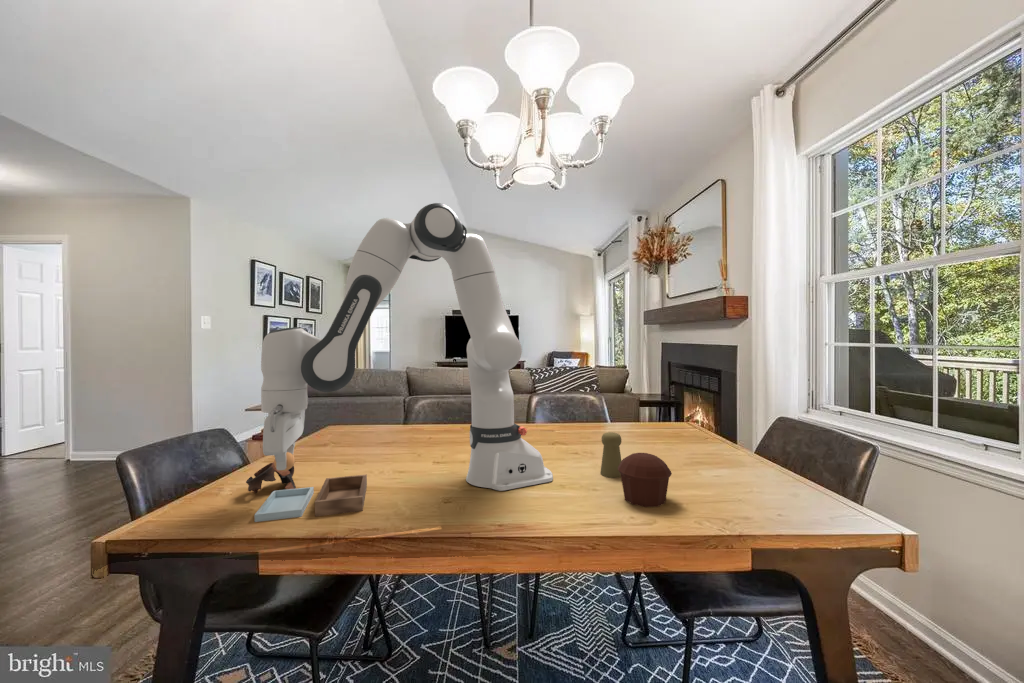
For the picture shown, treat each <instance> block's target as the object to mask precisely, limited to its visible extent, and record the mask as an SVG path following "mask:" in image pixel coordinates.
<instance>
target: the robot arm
mask: <svg viewBox="0 0 1024 683" xmlns="http://www.w3.org/2000/svg"><path fill="white" fill-rule="evenodd" d="M487 246H488V245H487V244H486V242H485V239H484V238H483V237H482V236H480V235H478V234H475V233H468V231H467V227H466V226H465V225H464V224H463V223H462V221H461V219H460V218H459V217H458V215H457V213H456V212H455V211H454V210H453V209H452V208H451V207H449V205H447V204H444V203H440V202H439V203H438V202H433V203H429V204H427V205H425V206H423V207H422V208H420V210H419V211H418V212H417V213H416V215H415V217H414V218H413V219H412V221H411V222H408V223H404V222H401V221H399V220H397V219H394V218H389V217H383V218H380V219H378V220H376V222H375V223H374V224H373V225H372V226H371V228H370V229H369V230H368V232H367V233H366V234H365V235H364V237H363V239H362V241H361V242H360V244H359V245H358V247H357V249H356V251H355V253H354V255H353V257H352V260H351V261H350V265H349V268H348V271H347V276H346V281H345V283H346V285H345V286H346V287H345V294H344V298H343V299H342V300H343V301H342V304H341V305H340V307H339V309H338V311H337V313H336V316H335V317H334V319H333V321H332V323H331V325H330V327H329V329H328V330H327V332H326V333H325V335H324V337H323V338H320V337H317V336H316V335H313V334H311V333H309V331H306V330H305V329H304V328H303V327H298V326H297V327H295V326H294V327H293V326H292V327H286V328H280V329H275V330H272V331H270V332H268V333H267V334H266V335H265V336H264V338H263V341H262V346H261V361H260V369H261V373H262V378H263V380H262V385H261V389H260V396H261V397H260V398H261V401H260V403H261V404H260V406H261V409H260V410H261V412H262V413H265V414H267V416H266V417H265V419H264V423H263V432H262V453H263V455H264V456H266V457H267V456H273V457H274V460H276V469H277V470H285V469H286V468H287V458H286V453H287V452H289V453H291V454H293V455H294V452H295V451H294V450H295V446H296V442H297V441H298V439H299V438H300V437H301V436H302V435H303V432H304V428H305V417H306V410H307V409H308V404H309V397H308V386H309V387H310V388H312V389H314V390H315V391H318V392H324V393H331V392H336V391H339V390H341V389H343V388H344V387H346V386H347V385H348V384H349V383H350V382H351V380H352V379H353V377H354V375H355V372H356V371H355V370H356V351H357V346H358V344H359V342H360V340H361V338H362V335H363V333H364V331H365V329H366V327H367V325H368V323H369V320H370V318H371V317H372V314H373V313H374V311H375V310H376V309H377V307H378V306H379V305H380V304H381V303H382V302H383V301H384V300H385V298H386V297H387V296H388V295H389V294H390V292H391V291H392V290H393V288H394V286H395V285H396V283H397V282H398V280H399V278H400V276H401V274H402V272H403V269H404V267H405V265H406V263H407V261H408V260H410V259H411V260H417V261H421V262H428V263H430V262H435V261H437V260H439V259H440V258H442V259H444V260H445V262H446V264H448V266H449V269H450V271H451V276H452V280H453V285H454V289H455V292H456V293H455V294H456V298H457V301H458V306H459V310H460V313H461V315H462V317H463V320H464V322H465V325H466V327H467V330H468V333H469V335H470V338H469V339H468V342H467V344H466V357H467V358H466V359H467V370H468V379H469V387H470V395H471V396H470V398H471V424H470V425H469V426H470V428H469V445H470V459H469V465H468V471H467V473H466V477H465V481H466V482H467V483H469V484H470V485H472V486H475V487H479V488H480V487H481V488H488V489H492V490H495V491H500V492H502V491H508V490H513V489H518V488H523V487H529V486H535V485H538V484H539V485H540V484H544V483H550V482H552V481H553V479H554V476H553V472H552V471H551V470H550V469H549V468H547V467H546V466H545V465H544V459H543V455H542V454H541V452H540V451H539V450H538V449H536V448H535V447H534V446H533V445H532V444H530V443H529V442H527V441H526V440H525V439H523V438H522V436H523V437H524V436H526V435H527V433H528V430H527V428H526V427H524V426H520V425H518V424H516V423H515V396H514V391H513V388H512V384H511V379H510V374H509V370H511V369H513V368H514V367H516V366H517V364H518V363H519V361H520V359H521V357H522V352H523V351H522V350H523V349H522V345H521V342H520V339H518V337H517V335H516V333H515V330H514V327H513V325H512V322H511V319H510V317H509V315H508V313H507V310H506V307H505V305H504V302H503V297H502V294H501V291H500V290H501V289H500V287H499V286H500V285H499V282H498V276H497V274H496V270H495V266H494V262H493V260H492V256H491V253H490V251H489V249H488V247H487Z"/></svg>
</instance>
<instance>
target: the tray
mask: <svg viewBox="0 0 1024 683" xmlns="http://www.w3.org/2000/svg"><path fill="white" fill-rule="evenodd" d="M314 492H315V490H314V486H310V487H309V486H308V487H300V488H297V487H296V489H287V490H285V489H279V490H273V491H272V492H271V493H270V494H269V496H268V497H267V498H266V500H265V501H264V502H263V503H262V504H261V506H260V507H259V508H258V510H257V511H256V512H255V513H254V516H253V517H254V523H259V522H266V521H267V522H268V521H275V520H284V519H285V520H286V519H292V518H301V517H303V515H304V513H305V510H306V509H307V506H308V505H309V503H310V501H311V499H312V497H313V495H314Z"/></svg>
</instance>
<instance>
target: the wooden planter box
mask: <svg viewBox="0 0 1024 683" xmlns="http://www.w3.org/2000/svg"><path fill="white" fill-rule="evenodd" d="M367 477H368V476H367V474H359V475H357V474H356V475H347V476H338V477H337V476H336V477H327V478H325V480H324V482H323V484H322V486H321V488H320V491H319V492H318V495H317V497H316V499H315V501H314V517H321V516H322V517H324V516H329V515H339V514H346V513H357V512H363V511H364V505H365V500H366V494H367V487H368V478H367Z"/></svg>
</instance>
